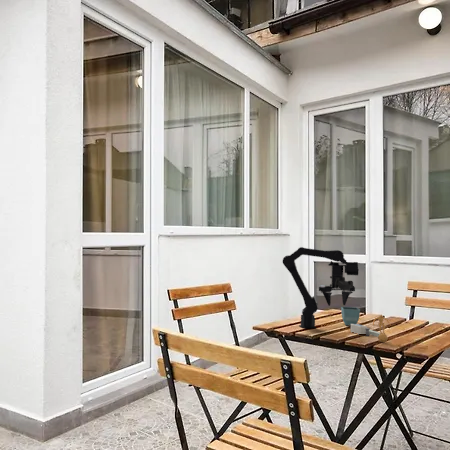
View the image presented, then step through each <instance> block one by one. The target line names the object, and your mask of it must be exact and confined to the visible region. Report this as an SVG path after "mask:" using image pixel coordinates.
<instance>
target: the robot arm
mask: <svg viewBox="0 0 450 450" xmlns="http://www.w3.org/2000/svg"><path fill="white" fill-rule="evenodd" d="M301 256H309V257H317V258H324V259H327V260H330V262H329V263H328V264H327V265H328V266H331V276H329V278H330V279H331V283H330V284H329V285H327V284H325V285H319V287H318V291H319V292H320V293H322V294H323V295H322V296H323V297H324V298H325V301H326V303H327V305H328V306H331V295H332V294H333V292H332V291H341V297H342V298H341V299H342V304H343V306H346V303H347V301H348V298H349V297H350V295H351V294H353V293H354V292H356V287H355V286H354V282H353V281H352V280H348V281H347V280H346V278H345V276H344V274H346V276H359V262H357V261H354V262H352V261H347V259H345V258H344V257H345V255H344V253H343V251H341V250H338V249H335V250H332V249H331V250H330V249H329V250H321V249H314V248H306V247H303V246H300V247H298V248H297V249H296V250H295V251H294V252H292V253H291V254H290V255H285V256H284V257H282V264H283V266H284V267H285V268H286V269H287V270H288V271H287V272H288V273H290V275H291V276H292V278H293V281H294V283H295V284H296V287H297V289H298V291H299V293H300V295H301V297H302V299H303V302H304V306H305V307H304V308H303V309H302V310H301V315H300V325H299V324H298V326H299V327H301V328H303V329H316V328H317V326H316V318H315V315H314V314H315V313H317V311H318V309H319V307H318V305H319V302H318V301H317V300H316V297H315V295H313V296H311V295H312V294H310V292H309V291H308V289H307V287H306V285H305V283H304V281H303V279H302V277H301V275H300V273H299V271H298V269H297V265H296V260H298V259H299V258H300V257H301ZM340 263H341V264H340Z"/></svg>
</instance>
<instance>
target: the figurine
mask: <svg viewBox="0 0 450 450" xmlns="http://www.w3.org/2000/svg"><path fill="white" fill-rule="evenodd" d="M376 320H378V323H377V324H378V327H379V333H380V334H379V336H378V337H377V339H378V341H379V342H380V343H386V342H387V341H388V335H387V334H386V332H385V329H386V326H385V322H384V320H385V321H386V322H387V323H388V324H389V327H390V326H392V325H391V323H390V321H389V320H388V319H387V318H385V317H384V316H383V314H380V315H378V316H377V317H375V318H374V319H373V321H372V322H373V323H372V326H375V322H376ZM381 330H382V331H381Z"/></svg>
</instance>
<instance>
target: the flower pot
mask: <svg viewBox="0 0 450 450" xmlns="http://www.w3.org/2000/svg"><path fill="white" fill-rule="evenodd" d="M340 309H341V312H340V313H341V319H342V321H343V323H344V325H345V326H350V324H358V322H359V319H360V314H361V309H360V308H358V307H350V306H349V307H348V306H341V308H340Z"/></svg>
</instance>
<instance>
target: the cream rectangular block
mask: <svg viewBox="0 0 450 450" xmlns="http://www.w3.org/2000/svg"><path fill="white" fill-rule="evenodd" d="M365 328H368V326H367V325H362V324H359V323H357V324H351V331H350V333H352V332H354V333H353V334H355V333H358V334H357V335H359V334H366V329H365Z"/></svg>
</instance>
